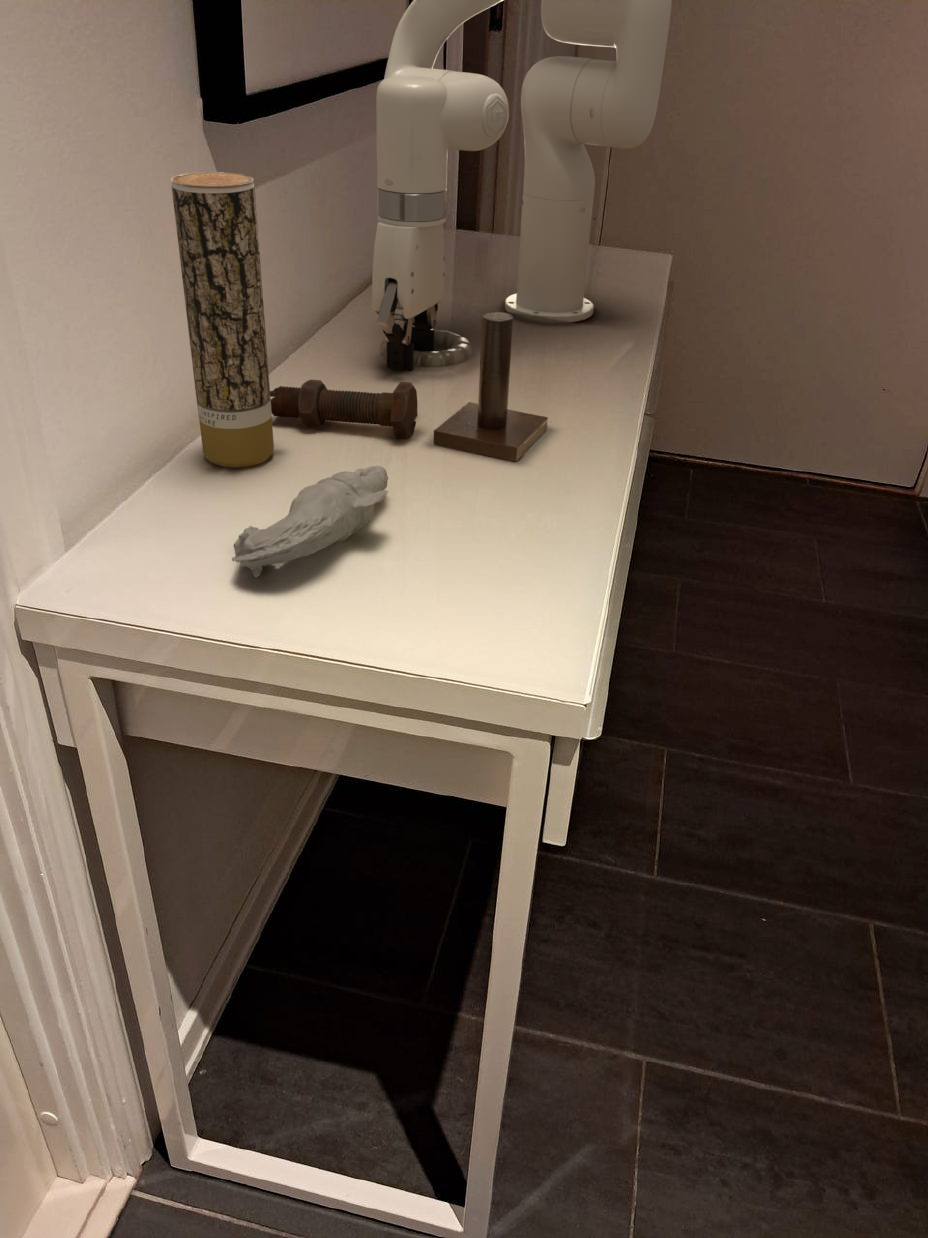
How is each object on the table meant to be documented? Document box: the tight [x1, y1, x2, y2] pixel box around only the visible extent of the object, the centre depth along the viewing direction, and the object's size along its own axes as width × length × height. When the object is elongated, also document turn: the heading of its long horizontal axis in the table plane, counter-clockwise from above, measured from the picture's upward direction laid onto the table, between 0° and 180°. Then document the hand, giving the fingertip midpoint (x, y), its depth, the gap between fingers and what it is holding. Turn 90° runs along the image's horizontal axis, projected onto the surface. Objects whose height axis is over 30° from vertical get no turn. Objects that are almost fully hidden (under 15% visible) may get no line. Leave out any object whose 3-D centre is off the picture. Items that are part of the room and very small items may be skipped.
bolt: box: [270, 379, 418, 441], centre depth 102 cm, size 6×5×15 cm
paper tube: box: [170, 171, 275, 468], centre depth 90 cm, size 7×7×25 cm
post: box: [433, 311, 549, 463], centre depth 99 cm, size 9×9×12 cm
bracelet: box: [379, 328, 474, 368], centre depth 121 cm, size 11×11×3 cm
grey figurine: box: [231, 465, 389, 578], centre depth 83 cm, size 5×12×20 cm
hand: (410, 366), depth 118 cm, fingers open, 4 cm apart
